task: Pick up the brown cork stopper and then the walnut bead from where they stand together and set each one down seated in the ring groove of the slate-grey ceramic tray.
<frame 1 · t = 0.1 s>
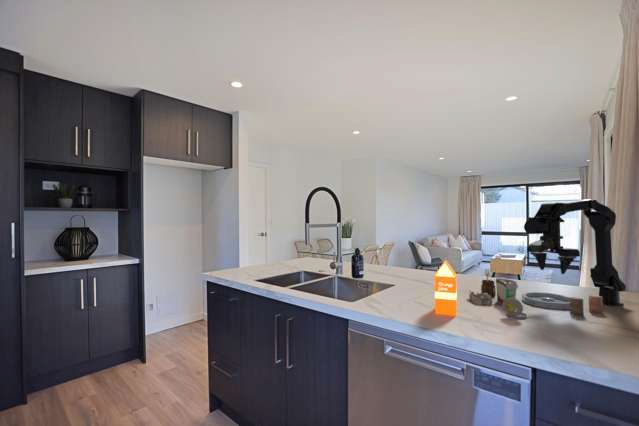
hand: (552, 271, 126), 15 cm above the worktop, fingers open, 9 cm apart
brown cork stopper: (595, 311, 120), on the worktop
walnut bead: (576, 314, 118), on the worktop
egg carton: (480, 302, 136), on the worktop
pocket watch: (514, 317, 115), on the worktop
groove tray: (548, 302, 133), on the worktop
orange juice: (446, 312, 123), on the worktop
utensil holder: (488, 296, 146), on the worktop
food container: (509, 305, 131), on the worktop
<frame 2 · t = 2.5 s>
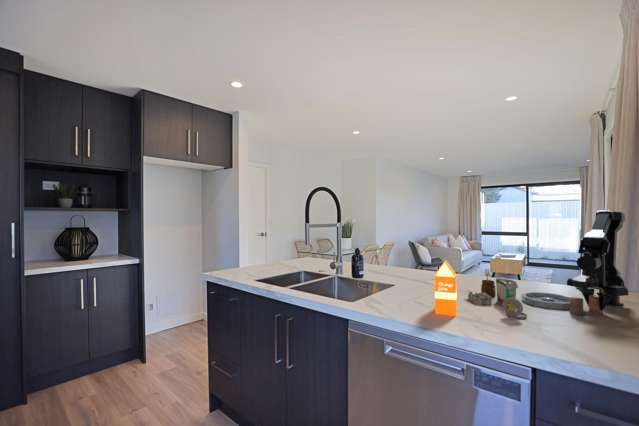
hand: (595, 308, 120), 1 cm above the worktop, fingers closed on brown cork stopper, 4 cm apart
brown cork stopper: (595, 311, 120), on the worktop, touching gripper
everything else where it was.
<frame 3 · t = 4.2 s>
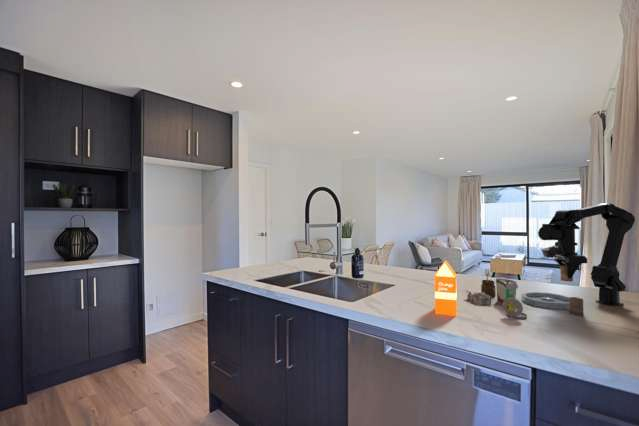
hand: (566, 277, 129), 12 cm above the worktop, fingers closed on brown cork stopper, 4 cm apart
brown cork stopper: (566, 280, 129), point 10 cm above the worktop, touching gripper
everything else where it was.
when the fingers open (3 cm above the worktop, at t = 6.3 s): brown cork stopper stays where it is, resting on groove tray.
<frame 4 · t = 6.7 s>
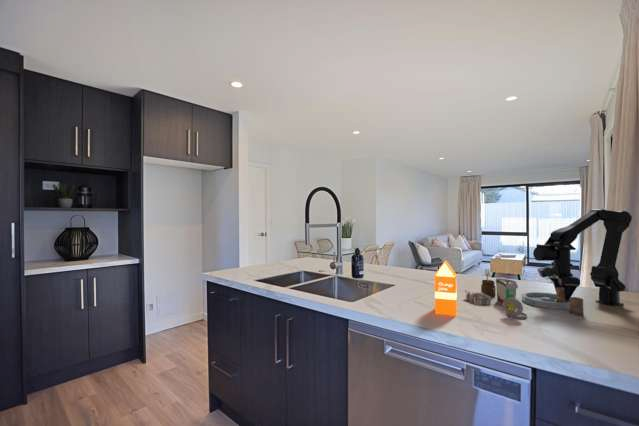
hand: (562, 297, 131), 3 cm above the worktop, fingers open, 9 cm apart
brown cork stopper: (562, 302, 131), point 1 cm above the worktop, touching groove tray
everything else where it was.
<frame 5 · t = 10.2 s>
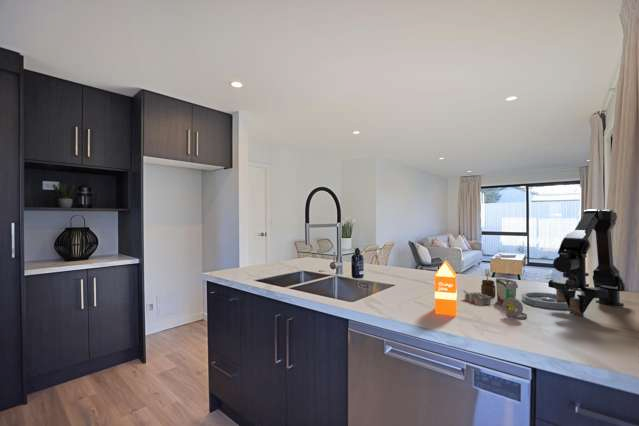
hand: (576, 310, 118), 1 cm above the worktop, fingers closed on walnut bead, 4 cm apart
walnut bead: (576, 314, 118), on the worktop, touching gripper
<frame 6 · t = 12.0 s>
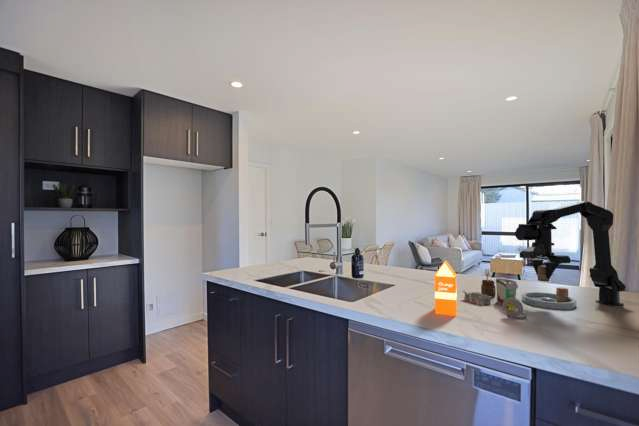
hand: (543, 277, 129), 12 cm above the worktop, fingers closed on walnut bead, 4 cm apart
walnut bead: (543, 280, 129), point 10 cm above the worktop, touching gripper
when the fingers open (3 cm above the worktop, at t = 14.1 s): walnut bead stays where it is, resting on groove tray.
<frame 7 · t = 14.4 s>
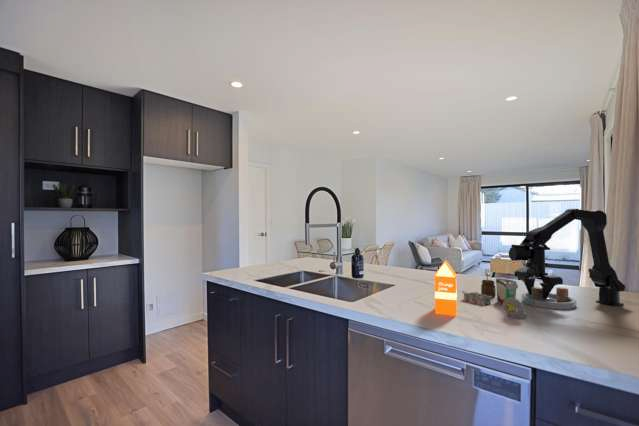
hand: (537, 297, 132), 3 cm above the worktop, fingers open, 7 cm apart
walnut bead: (537, 302, 132), point 1 cm above the worktop, touching groove tray
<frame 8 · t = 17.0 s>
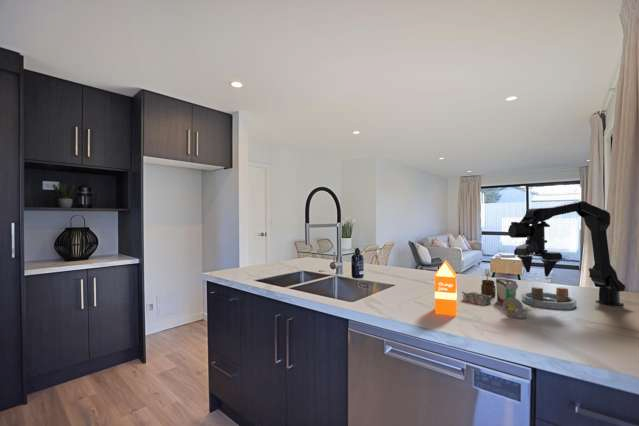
hand: (536, 274, 132), 12 cm above the worktop, fingers open, 9 cm apart
at the end: brown cork stopper 5.1 cm from the groove tray (horizontally); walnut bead 5.3 cm from the groove tray (horizontally); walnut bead tilted 0° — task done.
